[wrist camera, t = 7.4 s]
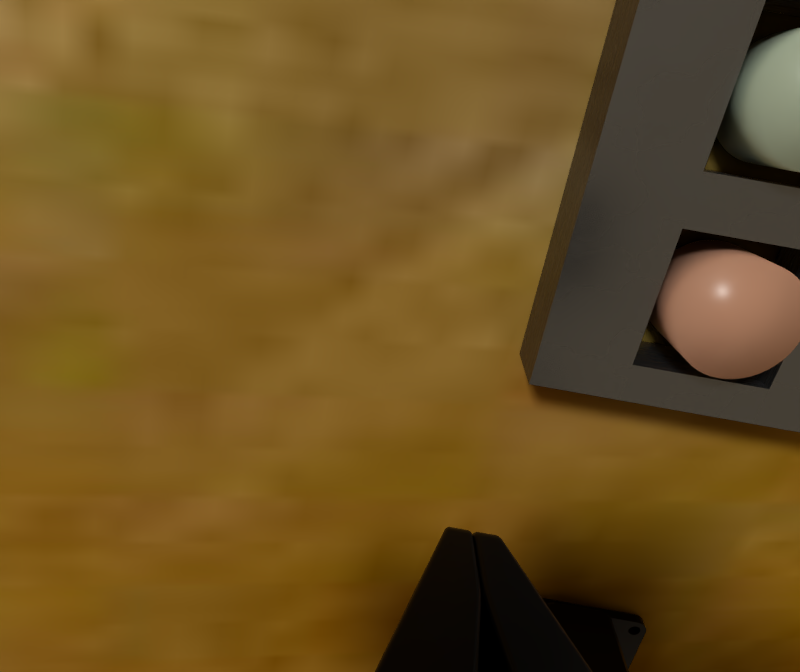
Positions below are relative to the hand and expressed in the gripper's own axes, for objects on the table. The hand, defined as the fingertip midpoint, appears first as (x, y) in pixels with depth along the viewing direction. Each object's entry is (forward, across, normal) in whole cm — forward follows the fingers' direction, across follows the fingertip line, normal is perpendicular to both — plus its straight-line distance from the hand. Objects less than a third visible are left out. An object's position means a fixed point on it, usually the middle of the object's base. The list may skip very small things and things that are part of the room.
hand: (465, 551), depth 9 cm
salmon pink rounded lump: (+12, -8, -2) cm, 14 cm away
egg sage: (+12, -8, -8) cm, 16 cm away
